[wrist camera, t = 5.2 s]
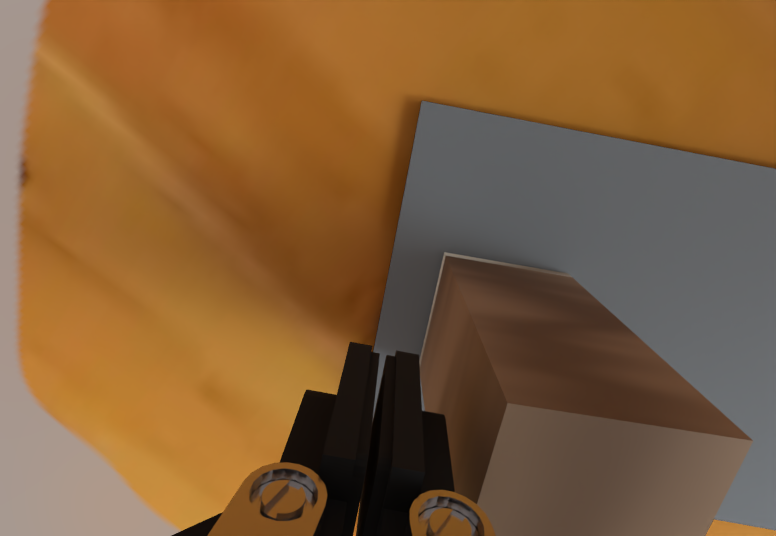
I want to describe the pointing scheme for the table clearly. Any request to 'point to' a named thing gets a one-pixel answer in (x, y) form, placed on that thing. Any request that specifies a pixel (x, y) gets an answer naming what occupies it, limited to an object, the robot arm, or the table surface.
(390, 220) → the table surface
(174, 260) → the table surface
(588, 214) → the mat
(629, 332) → the block
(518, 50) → the table surface
